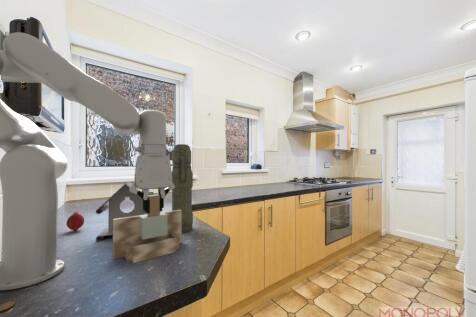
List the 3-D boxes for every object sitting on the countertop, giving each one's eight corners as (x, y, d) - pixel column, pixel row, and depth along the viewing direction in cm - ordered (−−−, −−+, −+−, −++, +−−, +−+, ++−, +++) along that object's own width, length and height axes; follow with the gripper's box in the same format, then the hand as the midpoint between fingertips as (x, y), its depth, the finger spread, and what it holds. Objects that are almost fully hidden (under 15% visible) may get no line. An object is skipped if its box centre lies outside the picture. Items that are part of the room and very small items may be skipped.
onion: (83, 231, 84) (84, 211, 85) (65, 234, 81) (65, 213, 81) (84, 228, 89) (84, 209, 89) (67, 230, 86) (67, 210, 86)
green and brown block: (142, 239, 59) (142, 197, 60) (139, 236, 62) (139, 195, 63) (167, 234, 64) (167, 195, 64) (163, 231, 67) (163, 193, 67)
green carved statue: (173, 235, 78) (173, 143, 80) (168, 227, 89) (169, 145, 90) (196, 231, 82) (196, 143, 83) (189, 224, 93) (189, 146, 94)
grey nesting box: (153, 228, 88) (153, 181, 89) (151, 235, 79) (152, 182, 80) (103, 233, 82) (103, 182, 83) (95, 241, 73) (96, 184, 74)
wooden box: (116, 267, 54) (116, 224, 54) (112, 257, 60) (113, 218, 60) (189, 248, 66) (189, 213, 66) (179, 241, 72) (179, 209, 72)
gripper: (125, 149, 56) (125, 218, 55) (183, 151, 66) (183, 209, 65) (121, 151, 62) (121, 213, 61) (174, 152, 72) (175, 206, 71)
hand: (153, 211), depth 63 cm, fingers closed on green and brown block, 3 cm apart
